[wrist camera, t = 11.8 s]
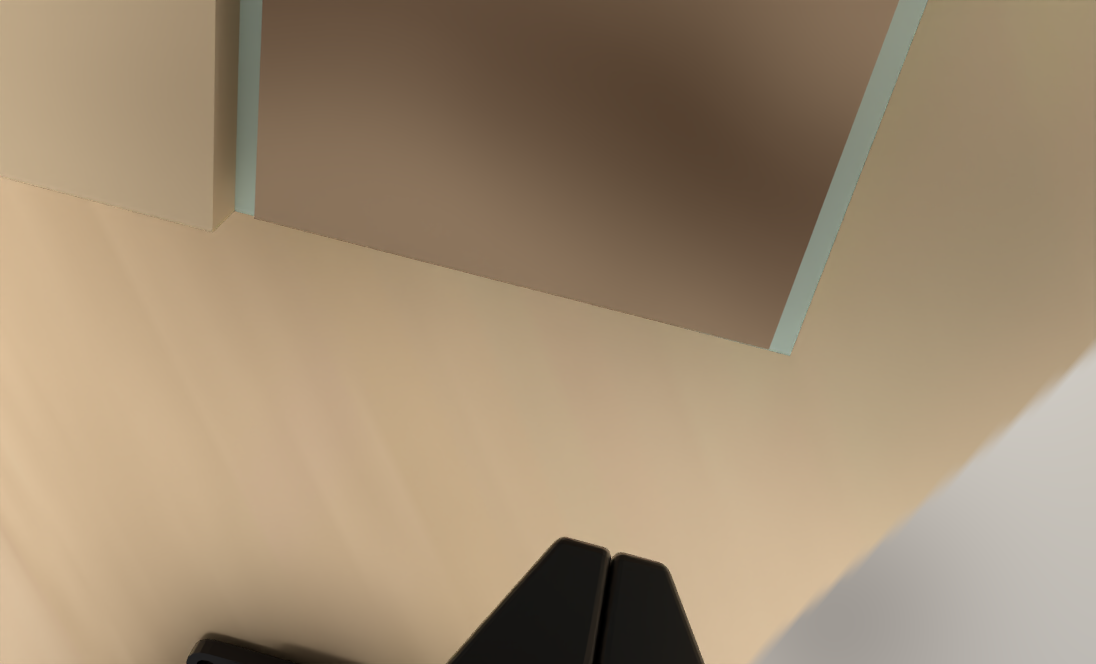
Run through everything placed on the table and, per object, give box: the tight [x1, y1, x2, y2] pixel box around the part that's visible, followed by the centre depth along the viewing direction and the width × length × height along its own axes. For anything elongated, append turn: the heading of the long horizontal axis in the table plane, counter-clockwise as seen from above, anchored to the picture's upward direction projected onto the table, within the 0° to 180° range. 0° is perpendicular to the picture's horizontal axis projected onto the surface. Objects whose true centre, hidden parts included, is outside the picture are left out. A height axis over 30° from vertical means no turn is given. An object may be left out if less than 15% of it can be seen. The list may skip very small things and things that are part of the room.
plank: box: [254, 0, 899, 350], centre depth 14 cm, size 6×8×1 cm
